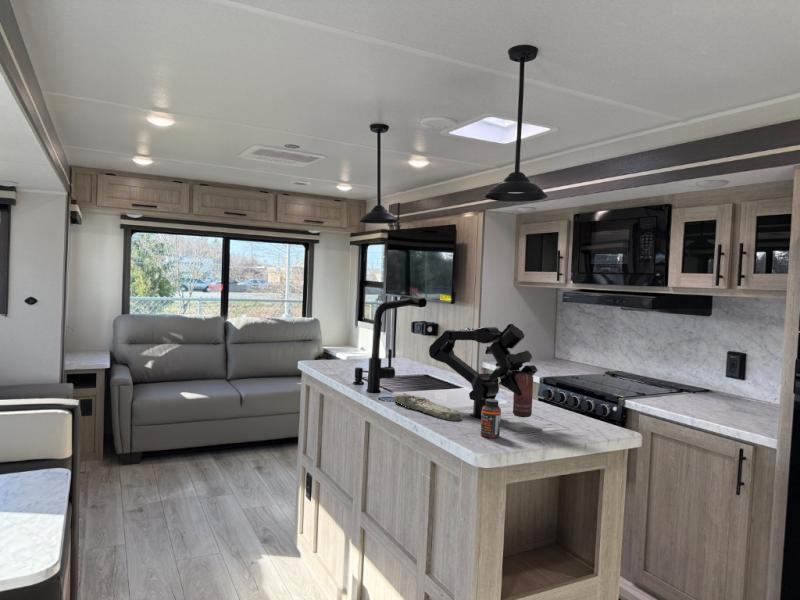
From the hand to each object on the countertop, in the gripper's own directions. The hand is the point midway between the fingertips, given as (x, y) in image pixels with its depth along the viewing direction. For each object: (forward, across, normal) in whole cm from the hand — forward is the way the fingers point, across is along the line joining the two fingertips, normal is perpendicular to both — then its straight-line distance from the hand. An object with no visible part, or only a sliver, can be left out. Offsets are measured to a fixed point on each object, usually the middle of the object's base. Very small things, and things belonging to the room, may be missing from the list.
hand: (526, 394), depth 189 cm
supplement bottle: (+9, -18, +7) cm, 21 cm away
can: (+4, +1, +6) cm, 8 cm away
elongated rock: (-17, -13, +34) cm, 40 cm away
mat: (+7, 0, +9) cm, 11 cm away
